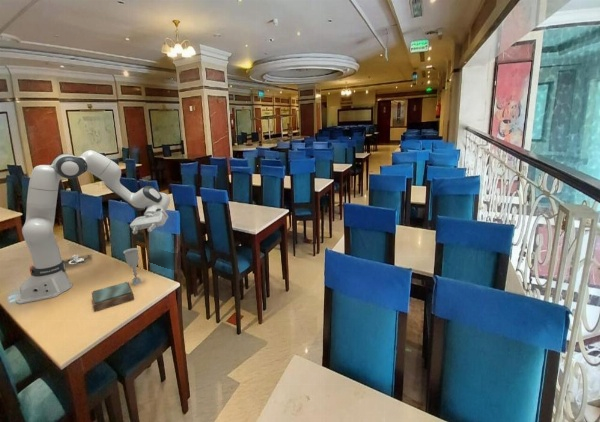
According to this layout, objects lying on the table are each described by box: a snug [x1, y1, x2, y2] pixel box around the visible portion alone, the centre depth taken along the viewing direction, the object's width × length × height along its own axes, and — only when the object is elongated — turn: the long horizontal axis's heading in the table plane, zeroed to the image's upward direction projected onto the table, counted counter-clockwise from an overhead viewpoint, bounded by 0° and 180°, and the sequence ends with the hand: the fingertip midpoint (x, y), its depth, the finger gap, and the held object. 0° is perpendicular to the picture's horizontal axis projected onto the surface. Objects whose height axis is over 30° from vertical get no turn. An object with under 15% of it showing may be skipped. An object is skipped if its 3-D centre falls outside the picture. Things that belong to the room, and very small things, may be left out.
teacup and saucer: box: [68, 254, 85, 265], centre depth 196 cm, size 9×8×4 cm
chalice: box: [123, 247, 143, 286], centre depth 165 cm, size 7×7×18 cm
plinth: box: [91, 281, 135, 312], centre depth 151 cm, size 16×14×4 cm
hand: (141, 232), depth 170 cm, fingers open, 8 cm apart
